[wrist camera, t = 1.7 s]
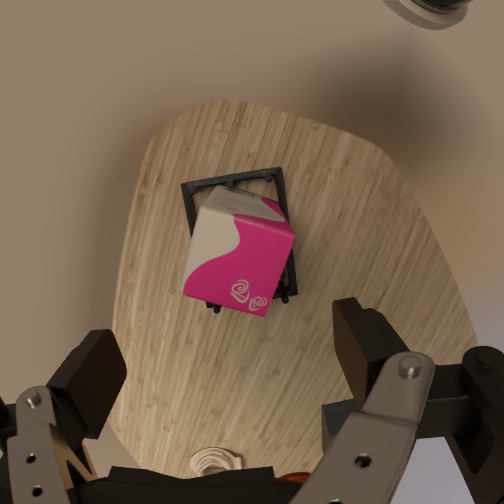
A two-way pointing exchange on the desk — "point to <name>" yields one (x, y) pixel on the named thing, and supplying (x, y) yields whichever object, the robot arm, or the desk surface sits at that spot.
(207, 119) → the desk surface
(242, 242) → the supplement box
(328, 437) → the dark grey storage bin
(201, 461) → the cream coiled cloth
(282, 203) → the dish rack
